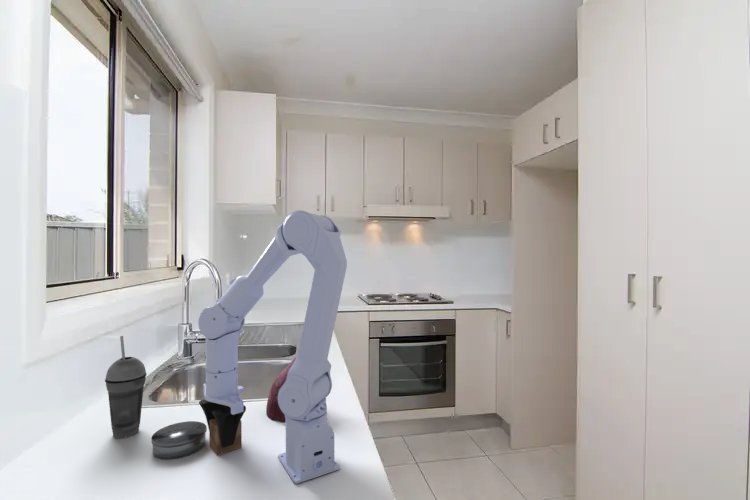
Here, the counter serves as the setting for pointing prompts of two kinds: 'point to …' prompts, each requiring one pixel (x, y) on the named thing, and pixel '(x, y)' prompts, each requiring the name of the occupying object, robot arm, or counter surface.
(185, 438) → the grey tin
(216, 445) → the walnut block
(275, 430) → the counter surface
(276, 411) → the vegetable
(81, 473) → the counter surface
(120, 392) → the beverage cup
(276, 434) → the counter surface
